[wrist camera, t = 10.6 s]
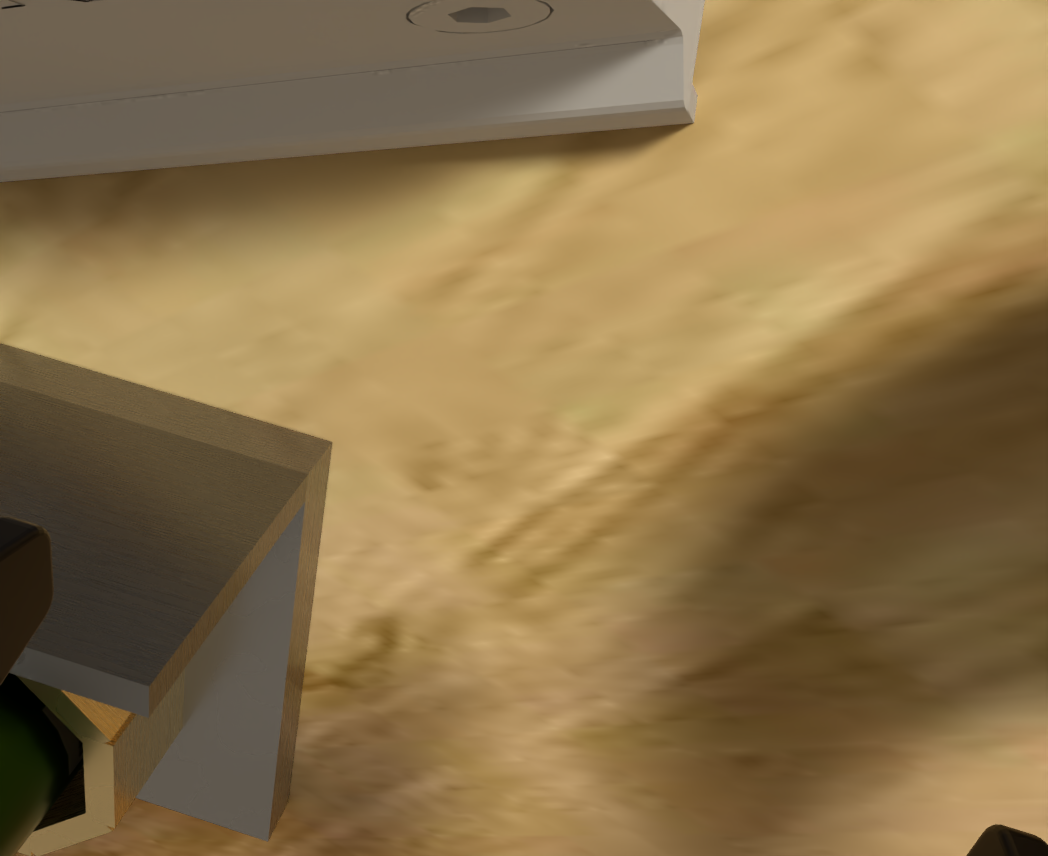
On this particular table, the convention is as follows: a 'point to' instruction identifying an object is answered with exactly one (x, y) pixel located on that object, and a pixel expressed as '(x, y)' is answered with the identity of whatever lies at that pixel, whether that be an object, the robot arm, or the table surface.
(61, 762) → the green soda can
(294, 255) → the table surface
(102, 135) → the white slotted casing
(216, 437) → the cup bracket
